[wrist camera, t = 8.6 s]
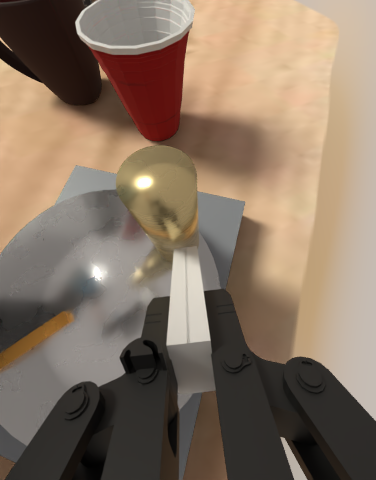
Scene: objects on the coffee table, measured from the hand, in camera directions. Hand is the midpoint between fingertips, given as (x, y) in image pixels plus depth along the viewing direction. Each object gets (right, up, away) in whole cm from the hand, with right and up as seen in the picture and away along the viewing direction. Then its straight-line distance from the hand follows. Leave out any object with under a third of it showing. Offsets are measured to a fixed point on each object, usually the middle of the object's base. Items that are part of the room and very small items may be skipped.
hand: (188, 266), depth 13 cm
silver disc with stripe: (-7, -4, +6) cm, 10 cm away
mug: (-19, +25, +20) cm, 37 cm away
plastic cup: (-4, +18, +17) cm, 25 cm away
